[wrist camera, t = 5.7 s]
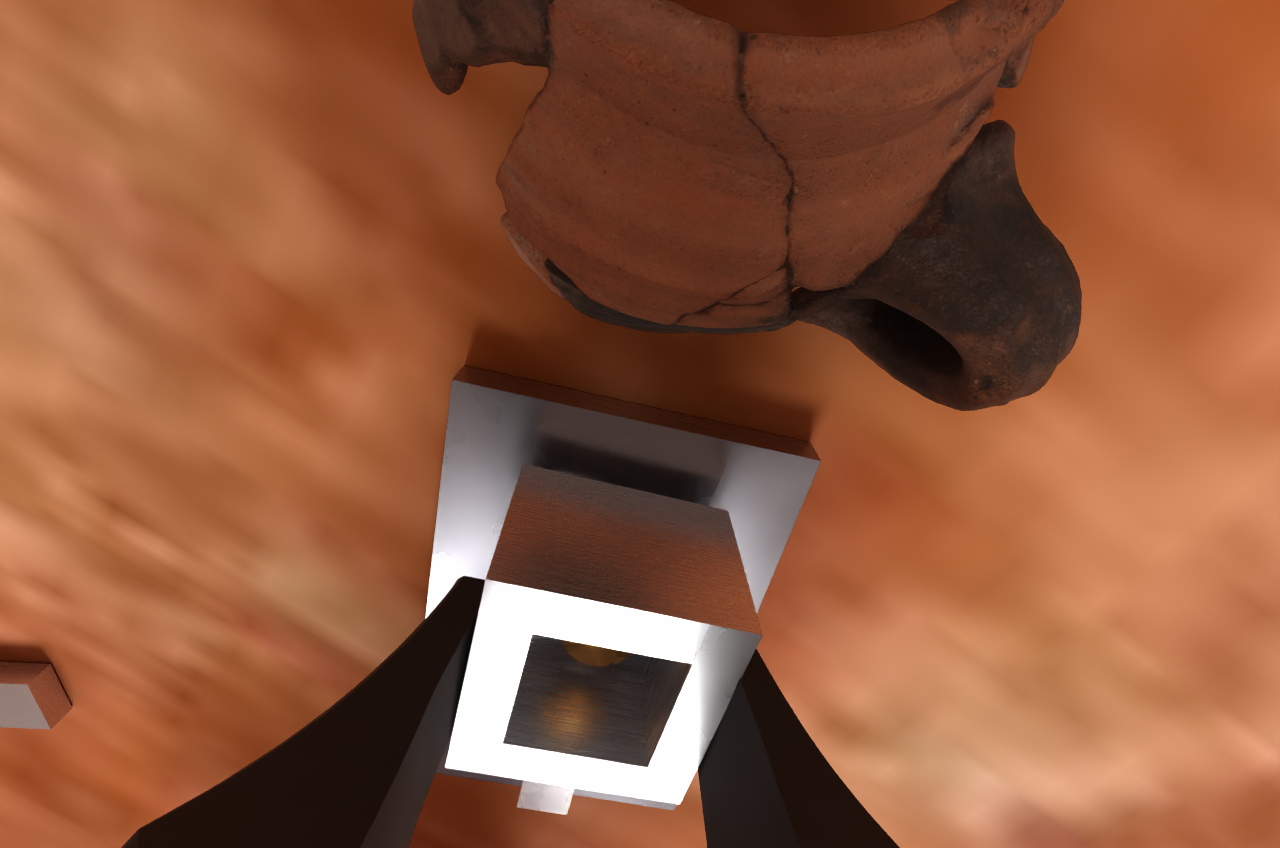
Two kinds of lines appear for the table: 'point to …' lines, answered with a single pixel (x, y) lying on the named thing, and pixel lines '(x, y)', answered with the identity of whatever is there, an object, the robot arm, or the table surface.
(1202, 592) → the table surface
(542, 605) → the end link
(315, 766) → the robot arm
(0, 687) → the chain
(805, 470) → the keeper
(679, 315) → the pottery mug
